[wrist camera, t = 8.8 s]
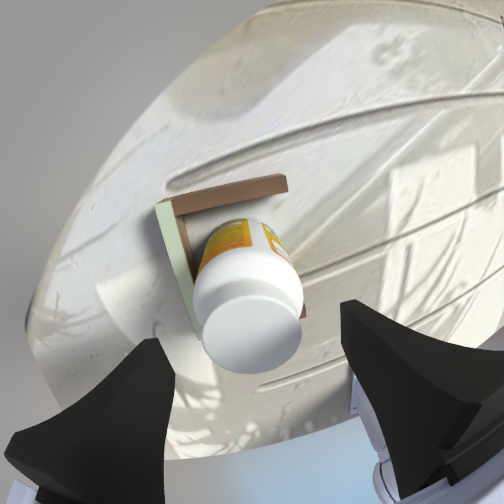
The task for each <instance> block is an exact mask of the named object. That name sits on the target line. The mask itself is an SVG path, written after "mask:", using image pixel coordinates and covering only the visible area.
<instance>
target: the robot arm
mask: <svg viewBox="0 0 504 504" xmlns="http://www.w3.org/2000/svg"><path fill="white" fill-rule="evenodd" d="M340 314H341V344H342V347H343V350H344V352H345V355H346V357H347V360H348V362H349V365H350V367H351V368H352V370H353V380H352V393H351V403H350V414H351V415H354V414H357V413H359V415H360V417H361V419H362V422H363V424H364V427H365V429H366V432H367V434H368V436H369V439H370V441H371V443H372V446H373V448H374V449H375V451H376V452H378V457H379V459H380V462H378V463H377V464H376V465H375V468H374V472H373V484H374V488H375V491H376V493H377V495H378V497H379V498H380V500H381V502H382V503H383V504H504V351H491V350H483V349H475V348H469V347H464V346H460V345H456V344H452V343H448V342H444V341H441V340H438V339H435V338H432V337H429V336H426V335H424V334H421V333H419V332H416V331H414V330H412V329H410V328H408V327H405V326H403V325H401V324H399V323H397V322H395V321H393V320H391V319H390V318H388V317H386V316H384V315H382V314H380V313H379V312H377V311H375V310H373V309H372V308H370V307H368V306H366V305H365V304H363V303H361V302H359V301H357V300H355V299H353V300H349V301H346V302H342V303H340ZM174 389H175V372H174V370H173V368H172V366H171V364H170V362H169V360H168V358H167V356H166V354H165V352H164V350H163V348H162V346H161V344H160V342H159V340H158V338H151V339H144V340H143V341H142V342H141V343H140V344H139V345H138V346H136V347H135V348H134V349H133V350H132V352H131V353H130V354H129V355H128V356H127V357H126V358H125V359H124V360H123V361H122V362H121V363H120V364H119V365H118V366H117V367H116V368H115V369H114V370H113V371H112V372H111V373H110V374H109V375H108V376H107V377H106V378H105V379H104V380H102V381H101V382H100V383H99V384H98V385H97V386H96V387H95V388H94V389H93V390H91V391H90V392H89V393H88V394H87V395H85V396H84V397H83V398H81V399H80V400H79V401H77V402H76V403H75V404H73V405H71V406H70V407H68V408H67V409H65V410H64V411H62V412H61V413H59V414H57V415H56V416H54V417H52V418H50V419H48V420H46V421H44V422H42V423H40V424H38V425H35V426H32V427H30V428H27V429H24V430H22V431H19V432H15V434H14V435H13V436H12V438H11V440H10V442H9V444H8V446H7V448H6V450H5V452H4V455H5V458H6V459H7V460H8V461H9V462H10V463H11V464H12V465H13V466H14V467H15V468H16V469H17V470H19V471H20V472H21V473H22V474H24V475H25V476H26V477H27V478H29V479H30V480H32V481H33V482H34V483H36V484H37V485H39V489H38V491H37V490H35V489H33V488H32V487H30V486H28V485H26V484H25V483H23V482H21V481H19V480H18V479H15V480H14V483H13V485H12V488H11V491H10V493H9V496H8V499H7V502H6V504H165V495H164V446H165V439H166V433H167V428H168V423H169V418H170V413H171V408H172V403H173V398H174Z"/></svg>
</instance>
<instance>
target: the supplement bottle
mask: <svg viewBox="0 0 504 504" xmlns="http://www.w3.org/2000/svg"><path fill="white" fill-rule="evenodd" d="M193 307H194V311H195V314H196V317H197V320H198V322H199V323H200V325H201V326H202V330H201V340H202V344H203V347H204V350H205V351H206V353H207V355H208V356H209V357H210V358H211V359H212V361H214V362H215V363H216V364H217V365H219V366H221V367H222V368H225V369H227V370H229V371H232V372H236V373H242V374H257V373H263V372H267V371H270V370H273V369H275V368H277V367H279V366H281V365H282V364H284V363H285V362H286V361H288V360H289V359H290V358H291V357H292V356H293V355H294V353H295V352H296V350H297V349H298V347H299V344H300V341H301V336H302V328H301V323H300V320H299V317H300V314H301V311H302V307H303V289H302V285H301V282H300V279H299V276H298V274H297V272H296V270H295V269H294V267H293V265H292V263H291V261H290V259H289V257H288V255H287V253H286V251H285V249H284V247H283V245H282V243H281V241H280V239H279V238H278V236H277V235H276V233H275V232H274V231H273V230H272V229H271V228H270V227H269V226H268V225H266V224H265V223H263V222H261V221H259V220H256V219H252V218H237V219H233V220H230V221H227V222H225V223H223V224H222V225H220V226H219V227H218V228H217V229H216V230H215V231H214V232H213V233H212V235H211V236H210V238H209V240H208V242H207V244H206V247H205V251H204V254H203V258H202V261H201V264H200V268H199V271H198V274H197V278H196V281H195V285H194V292H193Z"/></svg>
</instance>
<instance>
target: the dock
mask: <svg viewBox="0 0 504 504" xmlns="http://www.w3.org/2000/svg"><path fill="white" fill-rule="evenodd" d="M285 192H288V186H287V180H286V176H285V175H283V174H275V175H269V176H264V177H259V178H253V179H248V180H243V181H239V182H234V183H229V184H225V185H220V186H216V187H211V188H207V189H203V190H198V191H194V192H190V193H186V194H182V195H178V196H174V197H170V198H167V199H163V200H162V201H160V202H159V203H157V204H155V205H154V207H155V210H156V214H157V218H158V221H159V225H160V228H161V232H162V235H163V239H164V242H165V246H166V249H167V252H168V255H169V259H170V262H171V265H172V268H173V271H174V274H175V277H176V280H177V283H178V286H179V289H180V292H181V295H182V298H183V301H184V304H185V306H186V309H187V312H188V315H189V317H190V320H191V323H192V325H193V328H194V331H195V333H196V336H197V339H198V340H201V330H202V326H201V325H200V323H199V322H198V320H197V317H196V314H195V311H194V307H193V292H194V285H195V281H196V278H197V274H198V270H197V267H196V263H195V260H194V256H193V253H192V249H191V246H190V242H189V239H188V235H187V231H186V228H185V224H184V220H183V216H182V214H186V213H190V212H194V211H199V210H203V209H207V208H212V207H216V206H221V205H225V204H230V203H235V202H239V201H244V200H249V199H254V198H259V197H264V196H269V195H274V194H280V193H285ZM305 317H306V309H305V304H304V302H303V307H302V311H301V314H300V317H299V319H301V318H305Z"/></svg>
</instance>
